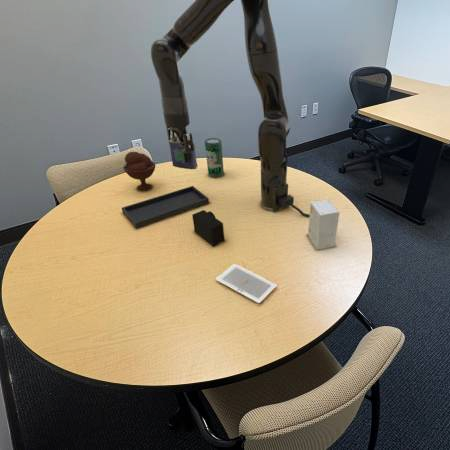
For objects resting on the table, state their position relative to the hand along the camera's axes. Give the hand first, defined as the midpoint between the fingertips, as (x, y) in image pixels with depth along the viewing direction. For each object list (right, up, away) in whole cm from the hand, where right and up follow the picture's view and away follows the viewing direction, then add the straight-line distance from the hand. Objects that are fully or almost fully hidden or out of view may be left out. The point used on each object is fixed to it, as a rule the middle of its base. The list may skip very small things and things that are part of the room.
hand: (182, 158), depth 115 cm
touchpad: (+26, -40, -24) cm, 53 cm away
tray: (-7, -17, +4) cm, 19 cm away
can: (+5, -2, +28) cm, 28 cm away
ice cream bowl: (-20, -9, +15) cm, 27 cm away
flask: (0, -3, +2) cm, 3 cm away
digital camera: (+12, -27, -8) cm, 30 cm away
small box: (+47, -28, -7) cm, 55 cm away
